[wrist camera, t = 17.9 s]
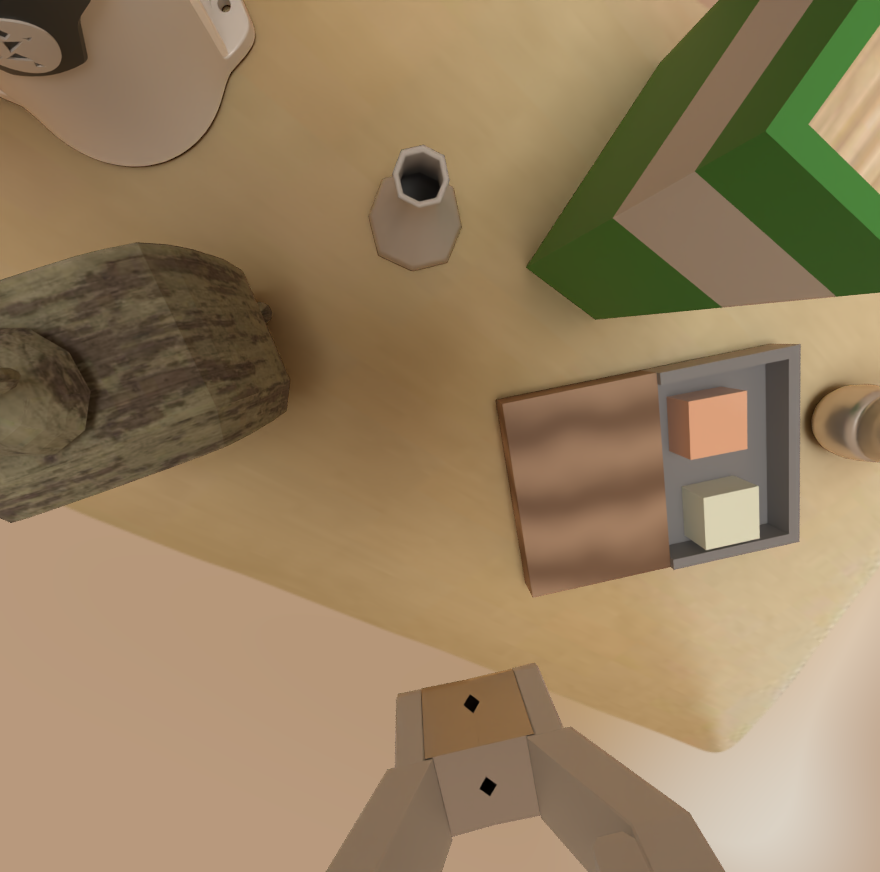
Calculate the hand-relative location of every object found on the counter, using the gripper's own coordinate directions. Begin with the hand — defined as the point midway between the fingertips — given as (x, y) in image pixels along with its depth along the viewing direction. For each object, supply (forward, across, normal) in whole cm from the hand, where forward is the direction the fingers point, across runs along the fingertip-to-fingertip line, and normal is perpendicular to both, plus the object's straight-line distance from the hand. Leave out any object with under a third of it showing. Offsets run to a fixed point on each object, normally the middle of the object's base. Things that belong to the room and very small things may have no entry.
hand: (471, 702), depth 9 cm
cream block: (+29, -25, +13) cm, 40 cm away
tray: (+29, -26, +8) cm, 40 cm away
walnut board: (+29, -13, +8) cm, 33 cm away
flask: (+29, -3, -16) cm, 34 cm away
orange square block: (+28, -24, +4) cm, 38 cm away
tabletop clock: (+29, +15, -8) cm, 34 cm away
